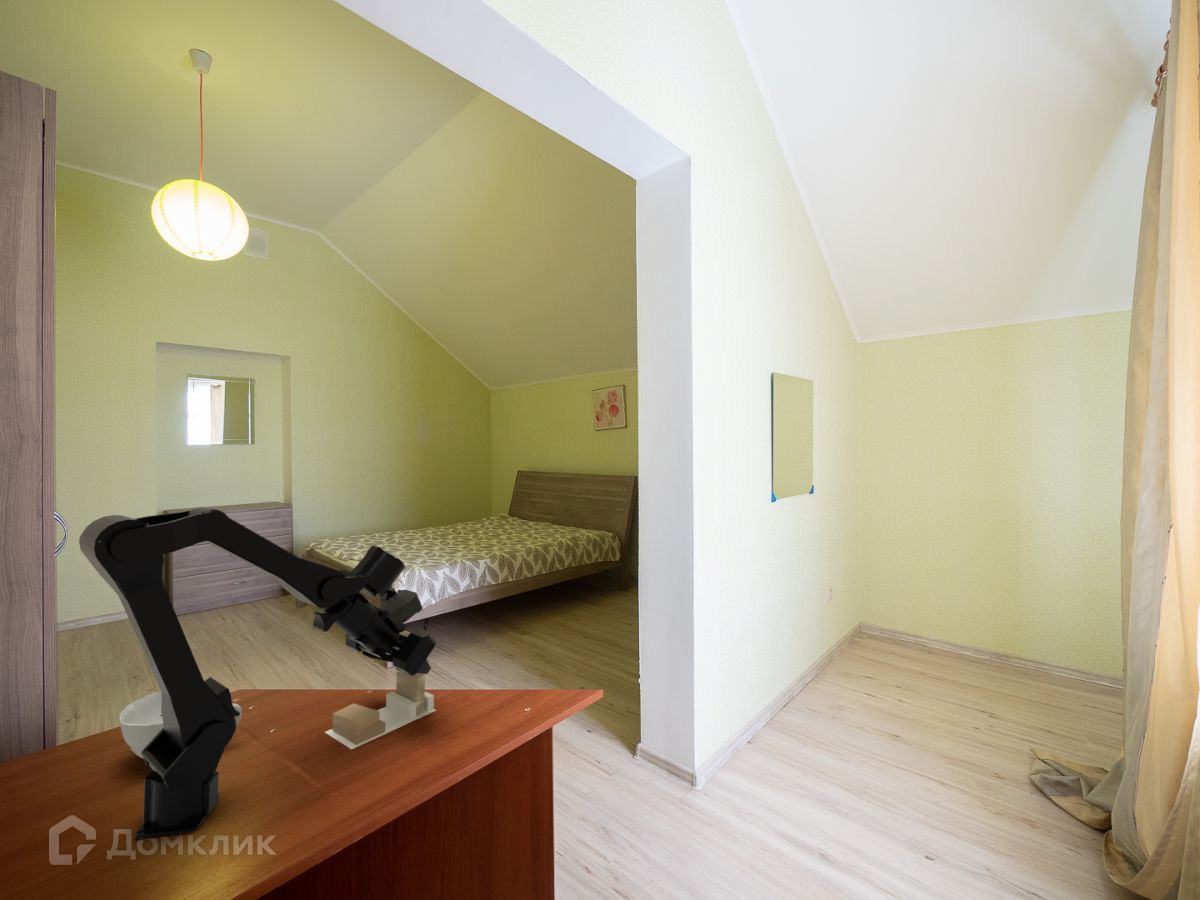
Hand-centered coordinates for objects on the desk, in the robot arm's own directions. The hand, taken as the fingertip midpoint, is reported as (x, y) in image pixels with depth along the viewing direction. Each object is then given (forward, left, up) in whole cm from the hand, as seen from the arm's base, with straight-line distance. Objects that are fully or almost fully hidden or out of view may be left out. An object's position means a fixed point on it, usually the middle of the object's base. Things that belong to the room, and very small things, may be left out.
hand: (417, 666), depth 94 cm
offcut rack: (-5, -4, -8) cm, 10 cm away
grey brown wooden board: (-1, -1, -7) cm, 7 cm away
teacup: (-33, -7, -8) cm, 35 cm away
